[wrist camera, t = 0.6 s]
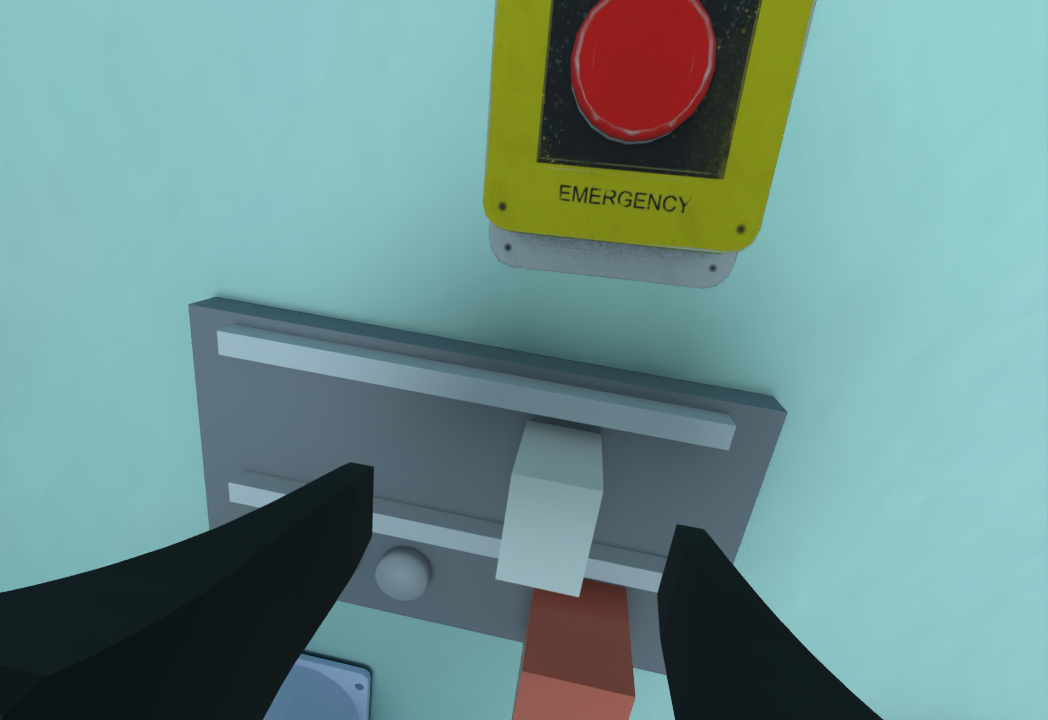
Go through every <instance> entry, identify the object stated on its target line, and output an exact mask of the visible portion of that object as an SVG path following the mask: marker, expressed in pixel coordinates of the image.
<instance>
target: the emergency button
mask: <svg viewBox="0 0 1048 720" xmlns="http://www.w3.org/2000/svg"><path fill="white" fill-rule="evenodd" d="M816 1H817V0H495V15H494V32H493V48H492V64H491V81H490V97H489V114H488V130H487V146H486V163H485V179H484V195H483V204H484V209H485V214H486V216H487V217H488V218H489V219H490V231H489V237H490V244H491V250H492V252H493V253H494V254H495V256H496V257H497V259H498V260H499V261H500V262H502V263H504V264H506V265H509V266H511V267H519V268H528V269H537V270H545V271H554V272H563V273H572V274H580V275H589V276H598V277H607V278H615V279H624V280H633V281H642V282H650V283H659V284H668V285H677V286H685V287H694V288H708V287H714V286H717V285H718V284H719V283H721V282H722V281H723V280H724V279H726V278H727V277H728V276H729V274H730V272H731V270H732V267H733V265H734V263H735V261H736V256H737V252H740V251H741V250H743V249H744V248H746V247H747V246H749V245H750V244H752V243H753V242H754V240H755V238H756V236H757V234H758V233H759V231H760V228H761V224H762V220H763V215H764V211H765V207H766V203H767V199H768V195H769V191H770V187H771V183H772V179H773V175H774V171H775V167H776V163H777V159H778V155H779V151H780V147H781V143H782V139H783V135H784V131H785V127H786V122H787V118H788V114H789V110H790V106H791V102H792V98H793V94H794V90H795V86H796V82H797V78H798V74H799V70H800V66H801V62H802V58H803V54H804V50H805V46H806V42H807V38H808V33H809V29H810V25H811V21H812V17H813V13H814V9H815V5H816Z"/></svg>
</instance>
